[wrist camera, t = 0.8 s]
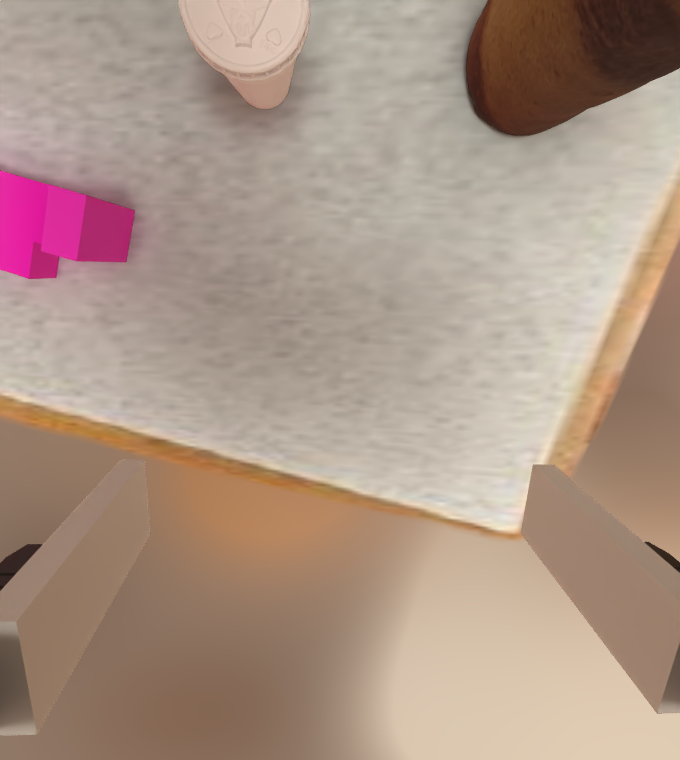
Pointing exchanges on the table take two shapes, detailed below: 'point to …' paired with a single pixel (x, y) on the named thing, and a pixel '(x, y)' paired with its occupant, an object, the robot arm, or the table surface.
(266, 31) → the smoothie
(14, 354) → the table surface
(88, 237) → the toy block
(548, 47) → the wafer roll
